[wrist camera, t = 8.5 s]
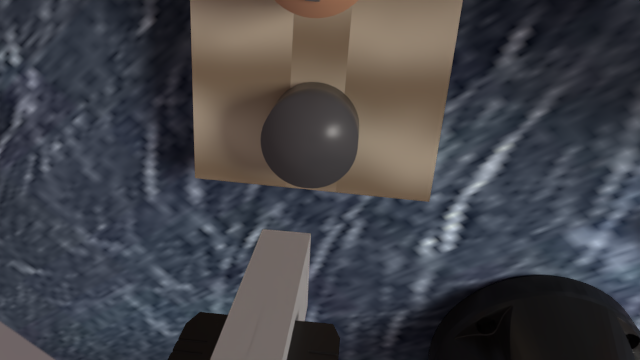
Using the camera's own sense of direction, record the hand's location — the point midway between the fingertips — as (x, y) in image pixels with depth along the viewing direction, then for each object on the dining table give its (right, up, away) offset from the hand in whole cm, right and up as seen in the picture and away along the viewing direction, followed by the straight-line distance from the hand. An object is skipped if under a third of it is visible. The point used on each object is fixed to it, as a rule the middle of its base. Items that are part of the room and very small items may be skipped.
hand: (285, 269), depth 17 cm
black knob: (+1, +7, +17) cm, 19 cm away
